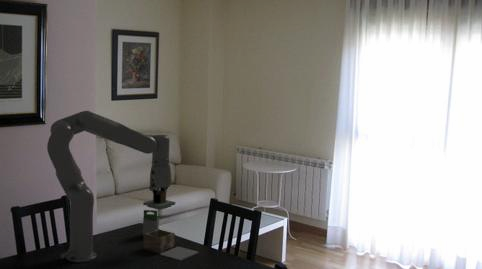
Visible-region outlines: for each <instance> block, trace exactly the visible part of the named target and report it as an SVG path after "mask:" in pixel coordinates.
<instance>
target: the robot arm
mask: <svg viewBox="0 0 482 269" xmlns="http://www.w3.org/2000/svg"><path fill="white" fill-rule="evenodd" d="M83 132H86V133H89V134H91V135H94V136H97V137H100V138H102V139H105V140H108V141H110V142H113V143H116V144H119V145H122V146H125V147H128V148H131V149H133V150H134V151H135V150H136V151H139V152H141V153H142V154H148V155H149V154H152V157H151V160H152V161H151V168H150V174H149V188H148V190H149V191H151V192H152V194H154V203H160V195H159V190H160V191H165V192H166V193H168V192H167V190H168V188H169V187H171V186H172V170H171V165H170V136H169V135H166V134H155V135H152V134H145V133H141V132H139V131H136V130H135V129H132V128H130V127H127V126H126V125H124V124H122V123H121V122H118V121H115V120H113V119H110V118H108V117H105V116H103V115H100V114H97V113H94V112H93V111H90V110H83V111H79V112H77V113H75V114H72V115H69V116H66V117H64V118H60V119H58V120H56V121H54V122H53V123H52V124H51V126H50V136H49V138H48V140H47V145H46V146H47V147H46V150H47V155H48V156H49V159H50V161H51V164H52V166H53V168H54V169H55V175H56V178H57V180H58V182H59V185H60V187H62V190H63V191H64V193H65V196H66V197H67V199H68V201H69V205H70V207H69V208H70V210H69V248H68V249H67V251H66V252H63V253H61V254H60V258H61V259H66V260H67V261H69V262H72V263H85V262H86V263H87V262H90V261H93V260H95V259H96V258H97V256H98V255H97V253H96V252H95V251H94V247H93V246H94V244H93V243H94V239H93V238H94V235H93V234H94V218H93V217H94V205H95V197H94V192H93V191H92V190H91V188H89V186H88V185H87V183H86V182H85V179H84V178H83V176H82V171H81V169H80V167H79V166H78V164H77V163H76V160H75V158H74V157H73V154H72V152H71V150H70V143H71V142H72V140H73V138H74V136H75V135H77V134H80V133H83Z"/></svg>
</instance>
